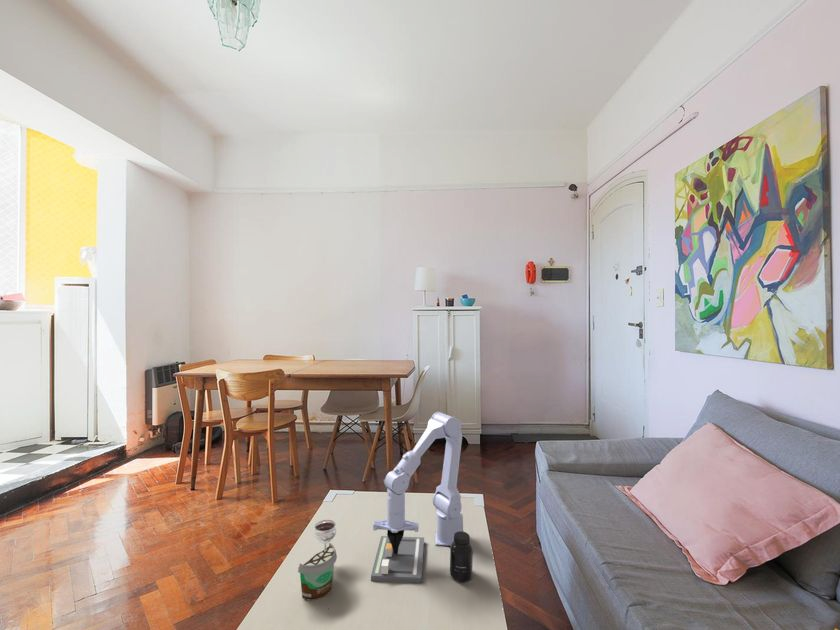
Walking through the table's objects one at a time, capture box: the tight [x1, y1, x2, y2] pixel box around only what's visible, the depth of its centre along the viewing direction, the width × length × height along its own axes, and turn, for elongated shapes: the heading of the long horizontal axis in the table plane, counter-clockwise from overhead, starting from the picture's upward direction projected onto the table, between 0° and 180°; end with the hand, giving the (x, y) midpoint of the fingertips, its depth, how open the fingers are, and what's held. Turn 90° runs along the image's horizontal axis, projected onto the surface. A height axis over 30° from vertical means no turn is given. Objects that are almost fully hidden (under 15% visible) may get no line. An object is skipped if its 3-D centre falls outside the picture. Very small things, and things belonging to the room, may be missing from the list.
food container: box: [297, 542, 338, 601], centre depth 106 cm, size 12×6×10 cm, turn 148°
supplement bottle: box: [449, 531, 474, 583], centre depth 113 cm, size 7×7×12 cm
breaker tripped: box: [386, 543, 393, 557], centre depth 120 cm, size 2×3×2 cm, turn 177°
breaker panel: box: [370, 535, 425, 584], centre depth 120 cm, size 15×20×2 cm
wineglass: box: [313, 519, 337, 550], centre depth 118 cm, size 7×7×12 cm
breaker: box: [381, 559, 389, 574], centre depth 112 cm, size 2×3×2 cm, turn 177°
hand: (395, 552), depth 120 cm, fingers closed
